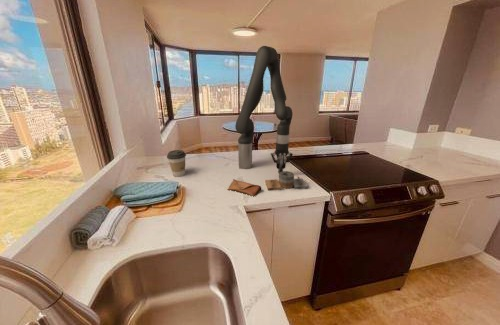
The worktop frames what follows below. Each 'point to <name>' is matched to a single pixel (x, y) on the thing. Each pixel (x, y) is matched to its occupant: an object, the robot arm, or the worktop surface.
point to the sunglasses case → (244, 188)
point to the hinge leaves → (286, 182)
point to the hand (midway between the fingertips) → (280, 168)
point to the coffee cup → (177, 162)
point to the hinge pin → (281, 164)
